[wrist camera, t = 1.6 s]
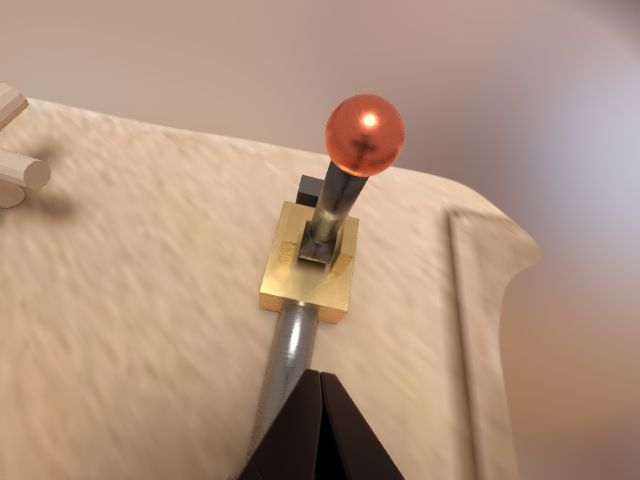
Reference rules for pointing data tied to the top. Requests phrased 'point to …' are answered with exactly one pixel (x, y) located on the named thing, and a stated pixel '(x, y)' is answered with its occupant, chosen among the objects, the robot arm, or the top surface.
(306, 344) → the valve pipe
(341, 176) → the valve lever
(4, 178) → the pipe connector
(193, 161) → the top surface
